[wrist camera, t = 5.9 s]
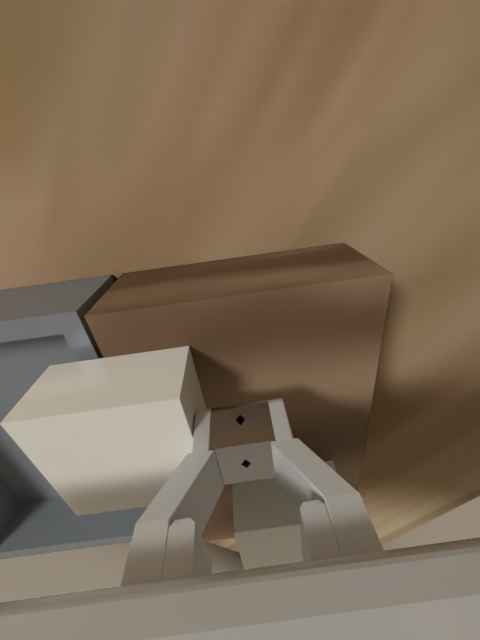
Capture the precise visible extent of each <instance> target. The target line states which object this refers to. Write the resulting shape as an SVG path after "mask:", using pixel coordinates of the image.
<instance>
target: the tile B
mask: <svg viewBox="0 0 480 640" xmlns="http://www.w3.org/2000/svg"><path fill="white" fill-rule="evenodd" d="M324 462H325V463H326V464H327V465H329V466H330V467H331V468H332V469H333V470H334V471H335V472H336V473H337V470H336V468H335V465H334V463H333V460H332V461H324ZM337 474H338V473H337ZM232 491H233V517H234V535H235V538H236V542H237V545H238V549H239V553H240V556H241V560H242V563H243V567H244V570H245V569H252V568H260V567H267V566H274V565H282V564H289V563H296V562H304V560H303V555H302V549H301V524H300V511H299V509H298V508H297V507H296V505H295V504H294V503H293V501H292V500H291V499H290V498H289V496H288V495H287V494H286V492H285V491H284V490H283V489H282V487H281V486H280V485H279V483H278V482H277V481H276V480H275V478H269V479H260V480H251V481H244V482H238V483H232Z"/></svg>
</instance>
